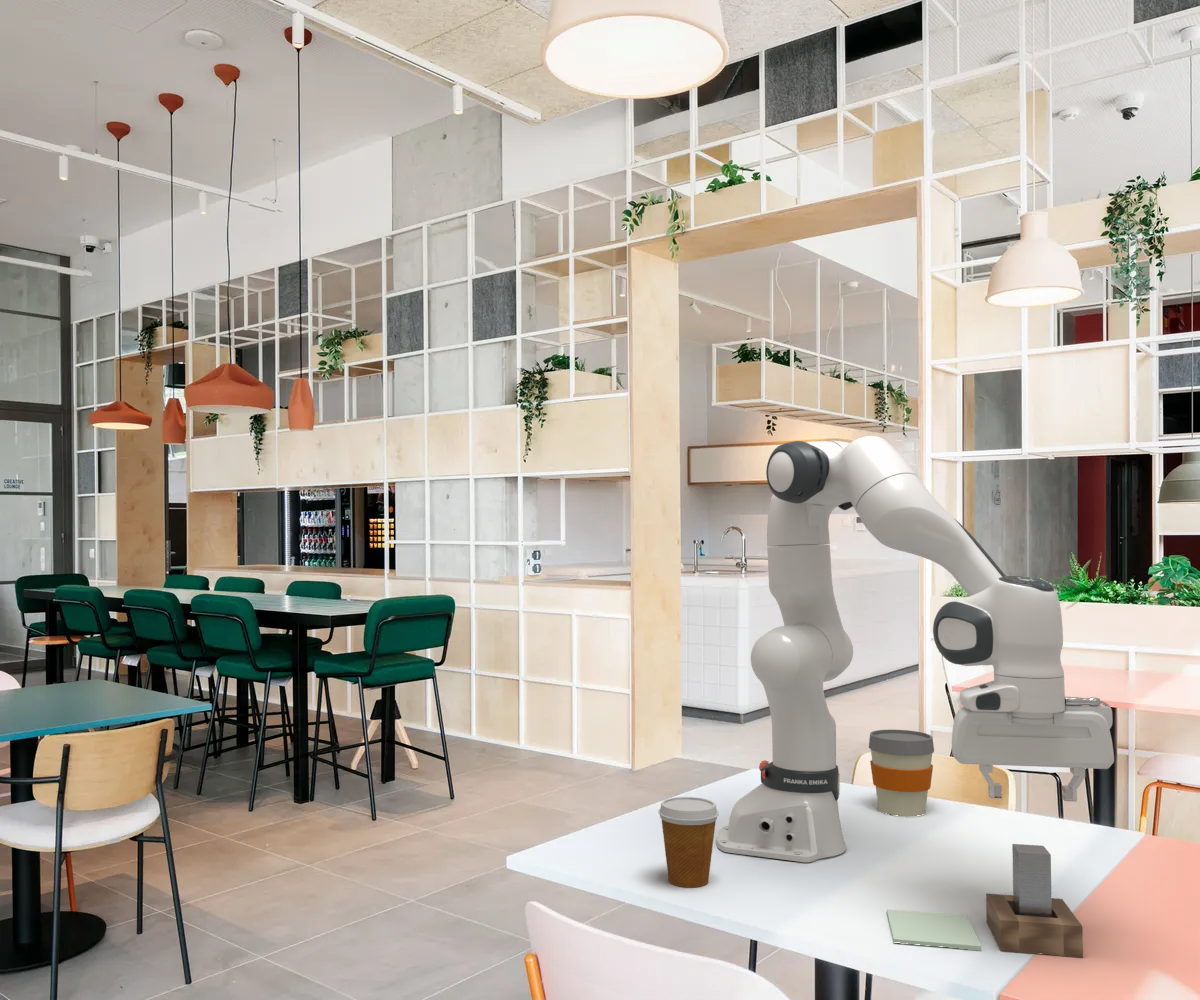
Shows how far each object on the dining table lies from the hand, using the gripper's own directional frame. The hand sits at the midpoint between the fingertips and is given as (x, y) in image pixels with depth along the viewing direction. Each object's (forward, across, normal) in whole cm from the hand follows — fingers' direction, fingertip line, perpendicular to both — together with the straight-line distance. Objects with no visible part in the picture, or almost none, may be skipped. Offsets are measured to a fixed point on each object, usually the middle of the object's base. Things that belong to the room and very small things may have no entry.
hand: (1032, 799), depth 133 cm
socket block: (+19, 0, 0) cm, 19 cm away
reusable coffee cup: (+18, +11, -63) cm, 67 cm away
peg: (+19, 0, 0) cm, 19 cm away
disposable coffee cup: (+18, +48, -13) cm, 53 cm away
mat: (+19, +13, 0) cm, 23 cm away
